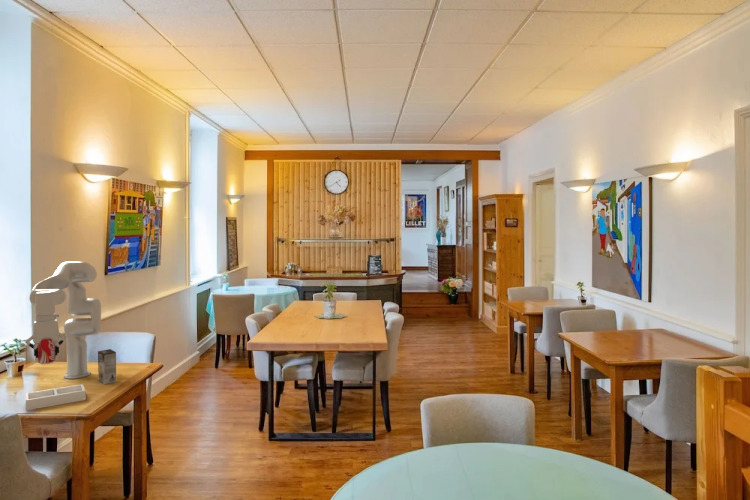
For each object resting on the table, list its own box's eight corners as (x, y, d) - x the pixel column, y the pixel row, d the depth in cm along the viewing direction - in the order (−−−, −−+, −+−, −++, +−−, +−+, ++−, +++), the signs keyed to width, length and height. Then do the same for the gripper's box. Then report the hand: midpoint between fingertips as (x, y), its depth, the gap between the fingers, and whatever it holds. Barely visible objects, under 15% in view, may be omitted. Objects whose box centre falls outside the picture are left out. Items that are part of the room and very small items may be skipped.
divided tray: (25, 402, 230) (25, 393, 229) (83, 393, 243) (82, 384, 243) (26, 410, 220) (25, 400, 220) (85, 399, 233) (85, 390, 233)
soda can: (47, 365, 225) (46, 339, 225) (33, 364, 227) (32, 338, 226) (59, 361, 232) (58, 335, 232) (46, 360, 233) (45, 335, 233)
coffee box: (97, 380, 262) (97, 351, 262) (110, 378, 267) (110, 348, 266) (104, 384, 256) (103, 354, 256) (117, 381, 261) (116, 351, 260)
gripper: (66, 315, 237) (67, 351, 237) (22, 318, 226) (23, 357, 227) (68, 317, 231) (69, 355, 231) (22, 321, 220) (23, 360, 221)
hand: (46, 355), depth 229 cm, fingers closed on soda can, 7 cm apart
